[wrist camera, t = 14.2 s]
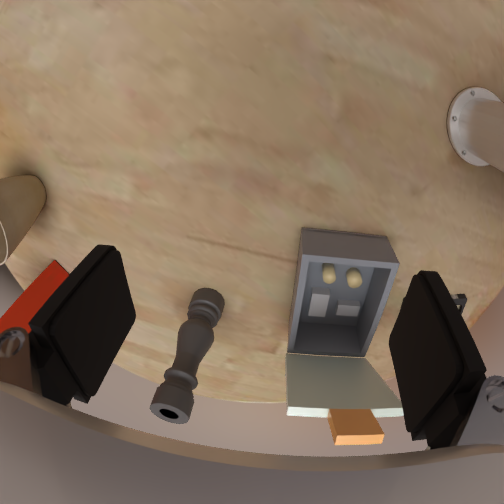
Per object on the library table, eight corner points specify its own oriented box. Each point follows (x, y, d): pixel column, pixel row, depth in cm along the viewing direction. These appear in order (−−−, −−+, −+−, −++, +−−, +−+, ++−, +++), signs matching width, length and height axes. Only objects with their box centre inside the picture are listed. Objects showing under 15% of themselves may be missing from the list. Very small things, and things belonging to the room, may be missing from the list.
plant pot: (7, 195, 52) (-41, 229, 39) (24, 144, 45) (-35, 172, 32) (47, 237, 56) (2, 280, 43) (69, 189, 49) (13, 229, 36)
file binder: (95, 323, 68) (33, 427, 41) (45, 276, 62) (-32, 369, 35) (109, 310, 64) (41, 425, 37) (55, 259, 59) (-33, 359, 32)
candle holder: (211, 283, 56) (168, 399, 35) (231, 306, 58) (199, 422, 37) (186, 294, 58) (139, 404, 37) (206, 316, 61) (169, 426, 39)
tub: (386, 236, 47) (399, 263, 40) (359, 326, 57) (364, 357, 50) (301, 227, 48) (302, 254, 41) (289, 321, 59) (287, 352, 52)
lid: (424, 430, 24) (419, 442, 24) (365, 358, 51) (363, 365, 51) (289, 433, 26) (286, 445, 26) (285, 353, 52) (284, 361, 52)
